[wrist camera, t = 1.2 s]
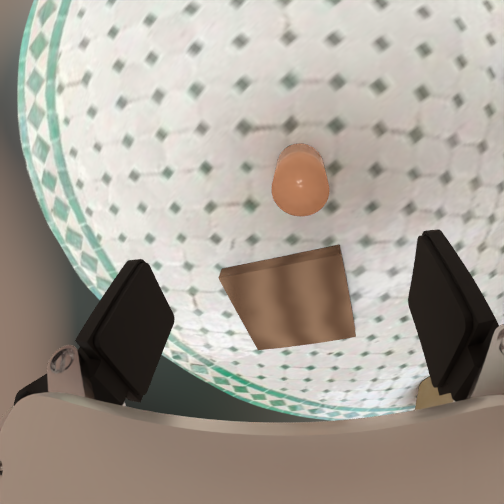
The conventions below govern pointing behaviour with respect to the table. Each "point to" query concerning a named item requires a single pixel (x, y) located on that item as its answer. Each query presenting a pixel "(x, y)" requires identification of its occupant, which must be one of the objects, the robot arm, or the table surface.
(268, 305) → the walnut board
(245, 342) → the table surface
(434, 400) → the plant pot
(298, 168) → the terracotta cylinder
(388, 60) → the table surface
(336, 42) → the table surface
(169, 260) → the table surface
